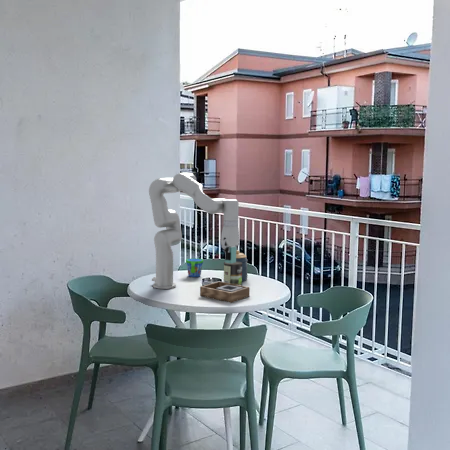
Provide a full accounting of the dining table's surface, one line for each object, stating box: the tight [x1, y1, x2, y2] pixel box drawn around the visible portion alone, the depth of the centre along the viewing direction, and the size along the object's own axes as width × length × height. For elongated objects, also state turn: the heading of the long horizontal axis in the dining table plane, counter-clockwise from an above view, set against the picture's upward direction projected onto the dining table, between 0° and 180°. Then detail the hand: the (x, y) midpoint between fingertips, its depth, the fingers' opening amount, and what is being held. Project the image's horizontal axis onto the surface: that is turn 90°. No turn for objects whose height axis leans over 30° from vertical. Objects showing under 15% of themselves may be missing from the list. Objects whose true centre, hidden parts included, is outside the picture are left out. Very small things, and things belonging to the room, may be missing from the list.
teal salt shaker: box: [224, 246, 236, 263], centre depth 261 cm, size 4×4×9 cm
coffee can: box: [223, 261, 243, 286], centre depth 284 cm, size 10×10×14 cm
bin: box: [199, 281, 250, 304], centre depth 266 cm, size 20×16×5 cm
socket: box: [216, 285, 243, 292], centre depth 264 cm, size 10×10×4 cm
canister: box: [236, 249, 249, 282], centre depth 304 cm, size 13×13×18 cm
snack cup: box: [185, 257, 204, 278], centre depth 311 cm, size 16×10×10 cm
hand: (230, 258), depth 262 cm, fingers closed on teal salt shaker, 4 cm apart
